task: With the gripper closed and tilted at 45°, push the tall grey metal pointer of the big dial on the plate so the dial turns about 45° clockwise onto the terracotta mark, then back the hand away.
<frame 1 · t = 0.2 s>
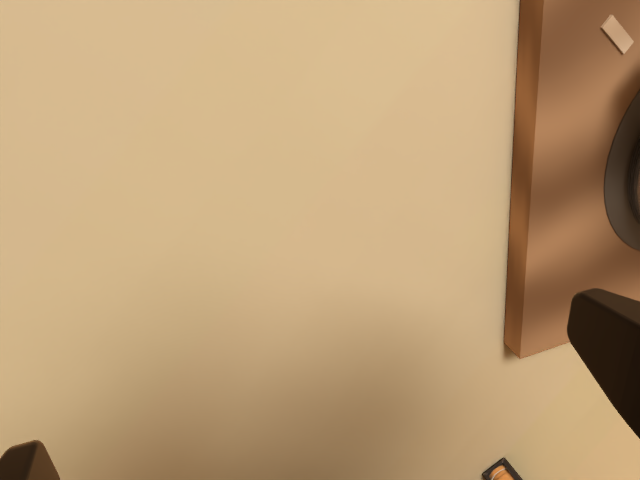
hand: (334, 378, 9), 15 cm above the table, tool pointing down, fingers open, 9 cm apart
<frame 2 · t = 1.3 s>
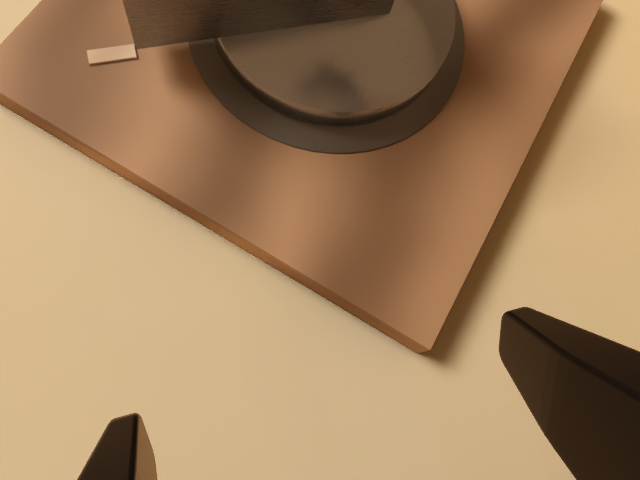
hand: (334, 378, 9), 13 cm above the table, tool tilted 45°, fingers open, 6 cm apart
dial plate: (324, 45, 26), on the table
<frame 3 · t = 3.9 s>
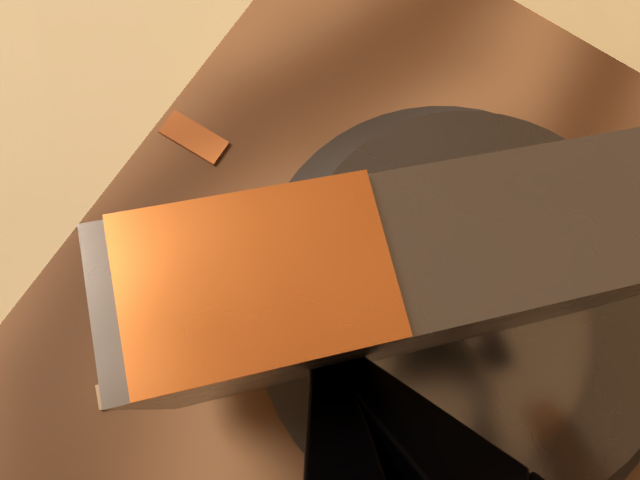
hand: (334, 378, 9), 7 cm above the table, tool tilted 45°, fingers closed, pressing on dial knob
dial plate: (449, 310, 17), on the table
dial knob: (489, 275, 11), point 6 cm above the table, hinge at -1.7°, touching gripper
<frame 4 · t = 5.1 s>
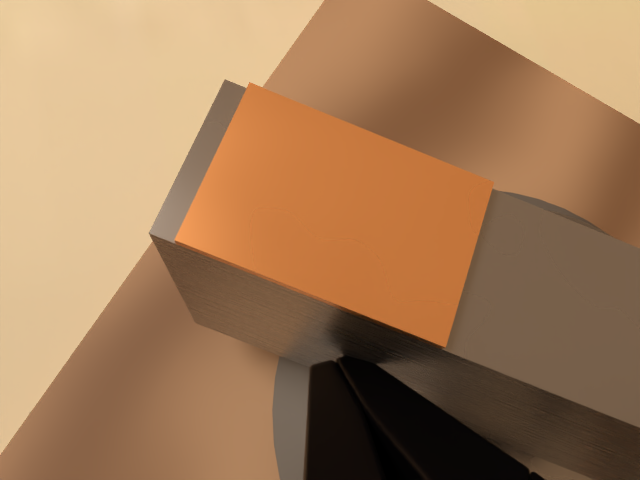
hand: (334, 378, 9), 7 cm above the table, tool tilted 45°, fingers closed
dial plate: (481, 408, 16), on the table
dial knob: (542, 381, 10), point 6 cm above the table, hinge at -35.6°, touching gripper
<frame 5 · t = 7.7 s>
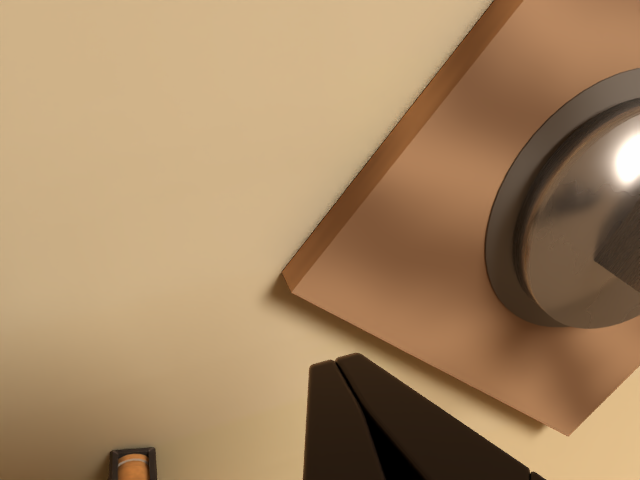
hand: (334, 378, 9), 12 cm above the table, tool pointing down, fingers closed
dial plate: (586, 196, 25), on the table
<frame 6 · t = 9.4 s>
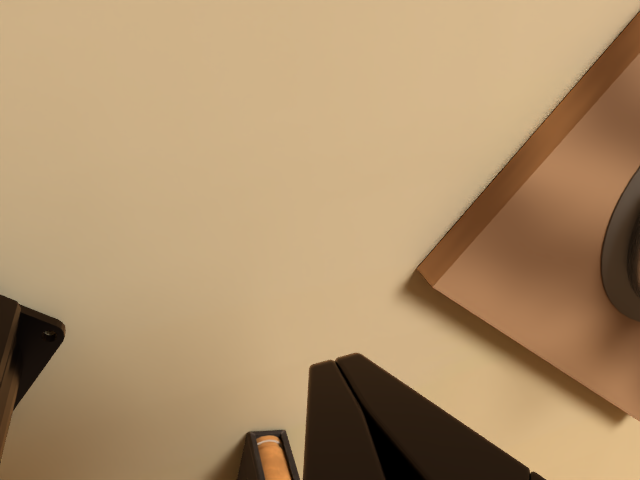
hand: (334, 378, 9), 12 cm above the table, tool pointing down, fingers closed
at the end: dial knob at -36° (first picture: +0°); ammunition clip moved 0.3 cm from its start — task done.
